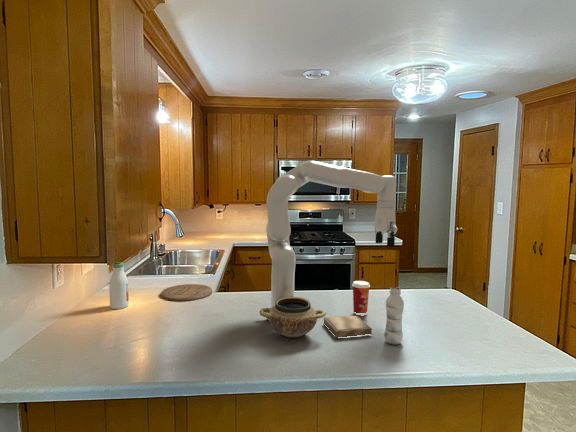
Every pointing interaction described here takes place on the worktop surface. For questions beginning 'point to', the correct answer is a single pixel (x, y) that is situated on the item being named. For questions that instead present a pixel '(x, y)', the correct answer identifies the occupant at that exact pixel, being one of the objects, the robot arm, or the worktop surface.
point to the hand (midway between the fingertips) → (384, 244)
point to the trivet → (186, 292)
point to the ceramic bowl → (292, 317)
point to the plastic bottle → (394, 317)
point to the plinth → (347, 326)
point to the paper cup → (360, 296)
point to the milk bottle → (118, 288)
